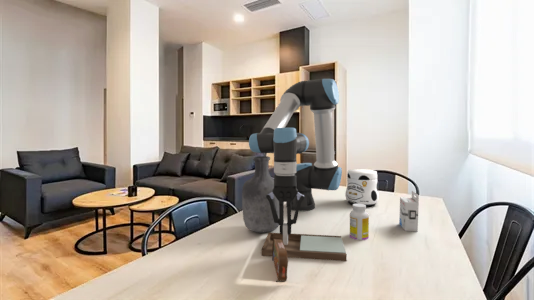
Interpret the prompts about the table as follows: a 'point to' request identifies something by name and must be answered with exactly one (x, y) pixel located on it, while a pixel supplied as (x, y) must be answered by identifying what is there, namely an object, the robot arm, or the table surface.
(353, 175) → the milk container
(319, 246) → the cover plate
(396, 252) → the table surface
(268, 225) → the vase
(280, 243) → the tin
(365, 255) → the table surface
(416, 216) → the ink box
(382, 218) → the table surface
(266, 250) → the walnut case
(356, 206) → the supplement bottle
